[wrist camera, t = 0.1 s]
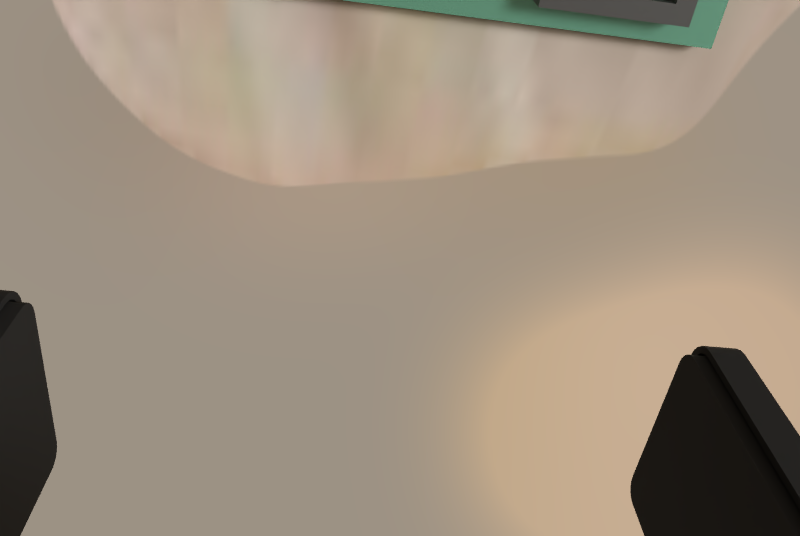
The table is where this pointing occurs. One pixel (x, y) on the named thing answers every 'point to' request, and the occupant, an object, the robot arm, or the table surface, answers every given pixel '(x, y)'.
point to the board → (593, 16)
